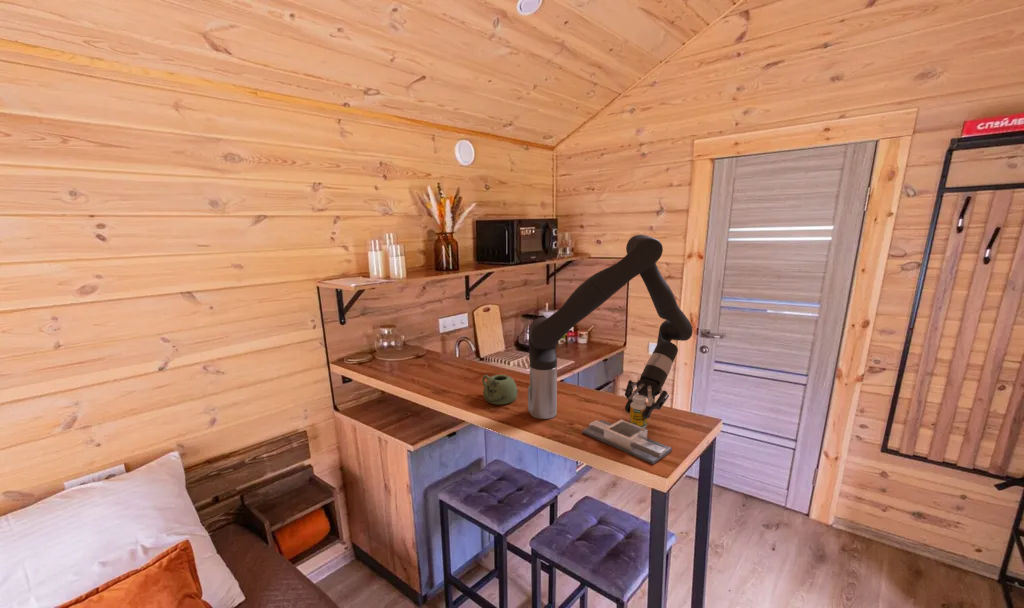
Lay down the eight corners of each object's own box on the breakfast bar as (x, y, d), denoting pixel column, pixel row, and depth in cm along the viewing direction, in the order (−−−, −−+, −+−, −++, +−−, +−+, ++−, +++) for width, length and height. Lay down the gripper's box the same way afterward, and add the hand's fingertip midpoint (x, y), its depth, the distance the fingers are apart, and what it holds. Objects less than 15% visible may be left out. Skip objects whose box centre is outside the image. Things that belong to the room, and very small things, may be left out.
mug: (524, 398, 156) (524, 376, 154) (501, 409, 147) (500, 386, 145) (494, 388, 167) (494, 367, 165) (470, 398, 157) (470, 376, 156)
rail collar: (582, 432, 129) (582, 421, 129) (602, 422, 136) (602, 411, 135) (653, 464, 112) (654, 451, 111) (671, 451, 118) (672, 438, 117)
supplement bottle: (645, 421, 136) (646, 394, 134) (648, 429, 131) (649, 401, 129) (628, 420, 137) (629, 393, 135) (630, 428, 132) (631, 400, 130)
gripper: (633, 359, 140) (611, 402, 135) (674, 369, 130) (652, 417, 124) (641, 370, 145) (620, 412, 139) (681, 381, 134) (660, 427, 129)
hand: (635, 414), depth 132 cm, fingers open, 5 cm apart
